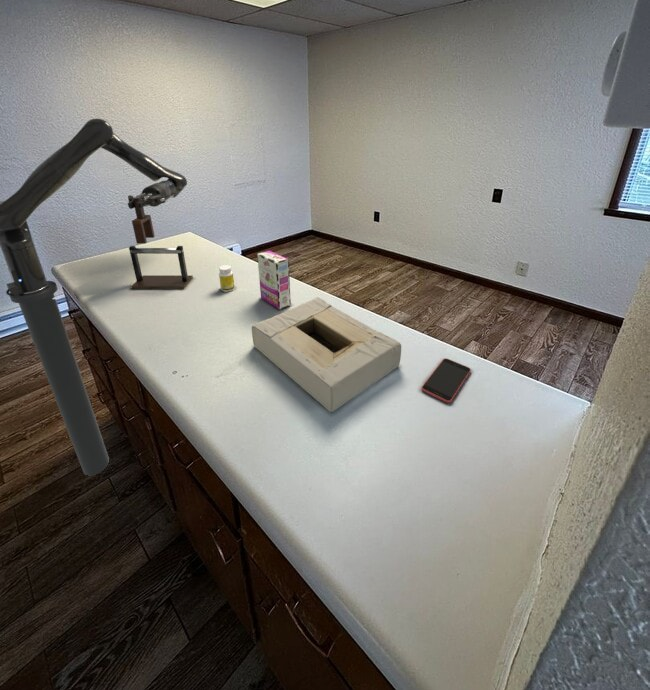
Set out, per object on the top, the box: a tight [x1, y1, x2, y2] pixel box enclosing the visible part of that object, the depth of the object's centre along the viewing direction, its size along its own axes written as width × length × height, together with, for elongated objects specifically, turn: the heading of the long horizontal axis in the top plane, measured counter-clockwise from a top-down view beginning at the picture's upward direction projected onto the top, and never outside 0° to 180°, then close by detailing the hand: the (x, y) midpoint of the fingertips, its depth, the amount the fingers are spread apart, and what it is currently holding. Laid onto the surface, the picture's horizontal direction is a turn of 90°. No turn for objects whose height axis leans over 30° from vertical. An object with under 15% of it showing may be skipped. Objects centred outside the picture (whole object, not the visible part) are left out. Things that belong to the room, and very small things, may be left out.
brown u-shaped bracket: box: [131, 196, 156, 245], centre depth 124 cm, size 7×3×15 cm, turn 179°
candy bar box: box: [256, 250, 292, 311], centre depth 117 cm, size 11×5×16 cm, turn 42°
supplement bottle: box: [218, 264, 235, 293], centre depth 127 cm, size 5×5×8 cm
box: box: [251, 296, 402, 413], centre depth 92 cm, size 23×8×32 cm
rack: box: [128, 245, 194, 290], centre depth 130 cm, size 9×19×15 cm, turn 89°
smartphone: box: [421, 358, 472, 404], centre depth 84 cm, size 7×1×14 cm
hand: (133, 205), depth 120 cm, fingers closed on brown u-shaped bracket, 2 cm apart
